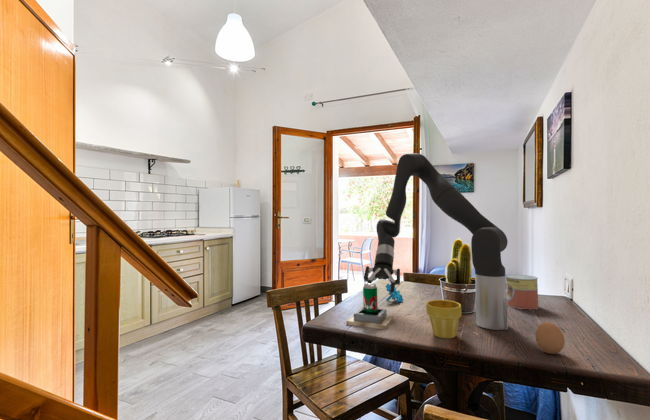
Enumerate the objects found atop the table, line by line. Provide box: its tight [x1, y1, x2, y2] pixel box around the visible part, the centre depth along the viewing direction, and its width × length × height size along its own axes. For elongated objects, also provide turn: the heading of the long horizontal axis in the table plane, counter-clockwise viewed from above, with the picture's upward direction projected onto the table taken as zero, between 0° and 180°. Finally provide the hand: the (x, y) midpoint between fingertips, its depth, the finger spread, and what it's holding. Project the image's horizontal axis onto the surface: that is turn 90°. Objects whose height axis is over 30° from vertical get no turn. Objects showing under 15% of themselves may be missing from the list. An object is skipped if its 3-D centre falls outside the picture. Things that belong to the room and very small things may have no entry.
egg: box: [535, 321, 566, 355], centre depth 87 cm, size 6×6×8 cm
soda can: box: [362, 282, 379, 315], centre depth 116 cm, size 5×5×12 cm
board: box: [345, 314, 395, 331], centre depth 115 cm, size 14×12×1 cm
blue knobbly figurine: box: [385, 283, 405, 304], centre depth 144 cm, size 11×6×10 cm
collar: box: [353, 306, 388, 324], centre depth 115 cm, size 9×9×2 cm
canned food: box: [505, 274, 539, 311], centre depth 133 cm, size 11×11×12 cm
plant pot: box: [425, 299, 463, 339], centre depth 101 cm, size 10×10×10 cm
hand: (380, 291), depth 126 cm, fingers open, 8 cm apart
